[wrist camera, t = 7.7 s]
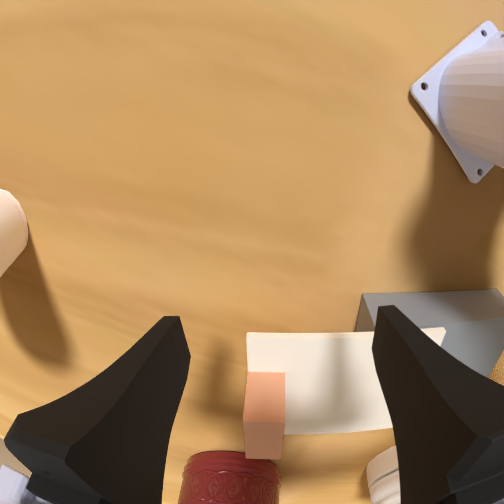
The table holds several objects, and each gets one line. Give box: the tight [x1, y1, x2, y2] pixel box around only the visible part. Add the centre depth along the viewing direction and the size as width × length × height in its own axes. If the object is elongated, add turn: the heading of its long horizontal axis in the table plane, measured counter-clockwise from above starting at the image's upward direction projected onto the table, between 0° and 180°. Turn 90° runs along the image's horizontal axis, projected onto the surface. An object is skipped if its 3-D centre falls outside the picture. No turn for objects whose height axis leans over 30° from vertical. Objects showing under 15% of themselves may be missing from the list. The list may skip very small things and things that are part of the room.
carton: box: [355, 289, 504, 378], centre depth 23 cm, size 13×11×4 cm
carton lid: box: [243, 327, 446, 459], centre depth 19 cm, size 13×11×4 cm
